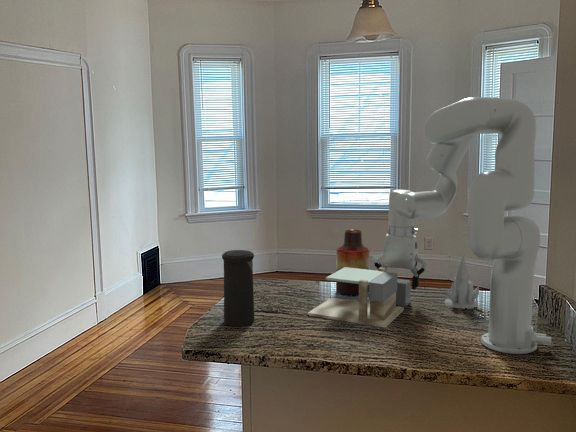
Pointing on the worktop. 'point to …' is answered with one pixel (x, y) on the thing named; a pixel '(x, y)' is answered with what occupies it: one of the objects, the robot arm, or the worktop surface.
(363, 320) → the frame
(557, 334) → the worktop surface
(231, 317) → the container
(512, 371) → the worktop surface
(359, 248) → the vase
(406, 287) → the basalt block
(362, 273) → the trapdoor
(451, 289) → the crystal
